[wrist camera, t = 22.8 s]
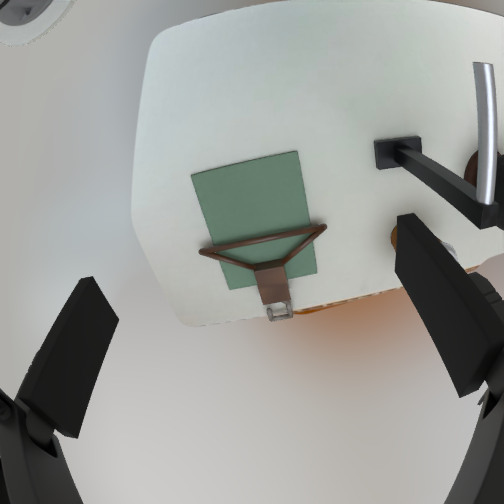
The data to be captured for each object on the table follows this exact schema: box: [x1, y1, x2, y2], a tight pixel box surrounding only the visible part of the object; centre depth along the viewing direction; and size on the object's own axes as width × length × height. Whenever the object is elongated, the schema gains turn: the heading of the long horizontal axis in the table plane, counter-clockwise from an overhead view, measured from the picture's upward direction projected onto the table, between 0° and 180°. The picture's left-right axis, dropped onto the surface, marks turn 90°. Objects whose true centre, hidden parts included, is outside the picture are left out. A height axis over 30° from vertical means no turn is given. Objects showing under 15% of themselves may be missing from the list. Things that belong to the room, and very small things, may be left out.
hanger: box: [199, 224, 327, 322], centre depth 53 cm, size 21×2×18 cm
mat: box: [191, 151, 317, 290], centre depth 49 cm, size 22×16×1 cm
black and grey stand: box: [374, 62, 499, 230], centre depth 29 cm, size 8×17×23 cm, turn 13°
